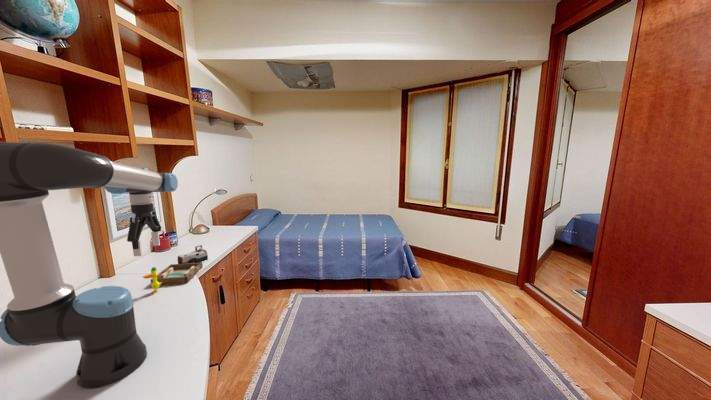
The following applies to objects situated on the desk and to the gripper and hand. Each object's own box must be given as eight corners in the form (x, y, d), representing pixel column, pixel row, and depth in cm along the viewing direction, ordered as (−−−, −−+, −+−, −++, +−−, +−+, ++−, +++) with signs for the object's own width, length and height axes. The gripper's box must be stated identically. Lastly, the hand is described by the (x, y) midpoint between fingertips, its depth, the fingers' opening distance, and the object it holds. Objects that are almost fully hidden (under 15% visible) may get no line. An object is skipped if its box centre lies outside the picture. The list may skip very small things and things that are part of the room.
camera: (183, 270, 144) (181, 253, 143) (177, 267, 148) (175, 250, 147) (210, 261, 157) (209, 245, 155) (204, 258, 161) (202, 243, 159)
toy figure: (144, 295, 116) (140, 270, 115) (146, 292, 120) (143, 267, 118) (162, 292, 119) (159, 267, 118) (164, 289, 123) (161, 265, 121)
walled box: (187, 283, 128) (187, 277, 127) (151, 286, 125) (150, 279, 125) (202, 268, 146) (202, 262, 146) (171, 270, 144) (170, 264, 143)
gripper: (132, 208, 100) (139, 260, 103) (166, 199, 124) (171, 241, 128) (110, 208, 99) (118, 261, 102) (149, 199, 123) (154, 242, 126)
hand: (147, 250), depth 115 cm, fingers open, 13 cm apart
